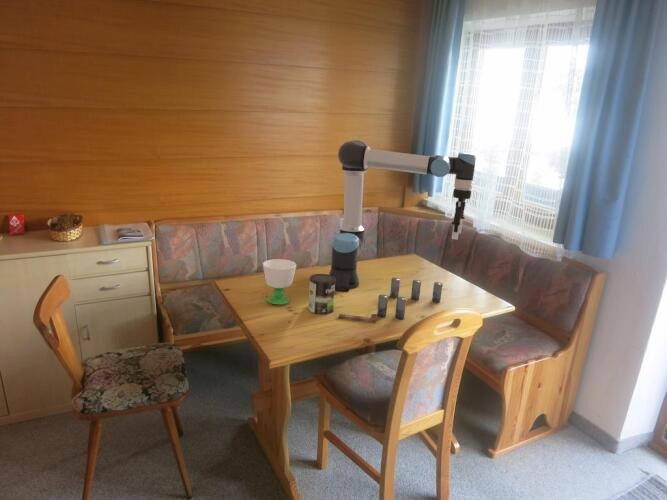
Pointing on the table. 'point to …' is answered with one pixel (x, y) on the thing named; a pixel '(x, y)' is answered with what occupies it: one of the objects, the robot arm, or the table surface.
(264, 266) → the cup
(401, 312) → the post
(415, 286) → the post
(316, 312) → the coffee can
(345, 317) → the hook stick
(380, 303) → the post
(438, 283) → the post
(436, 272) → the table surface
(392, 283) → the post
